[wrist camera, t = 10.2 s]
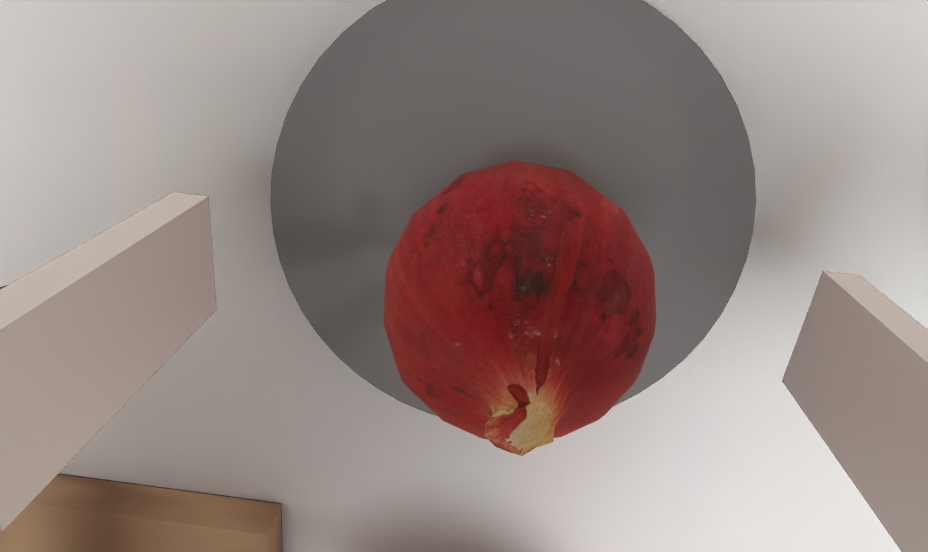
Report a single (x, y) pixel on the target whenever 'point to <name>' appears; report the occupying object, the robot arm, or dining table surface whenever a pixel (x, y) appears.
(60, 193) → the dining table surface
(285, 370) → the dining table surface
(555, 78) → the dish
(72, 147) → the dining table surface
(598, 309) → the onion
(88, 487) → the balance
